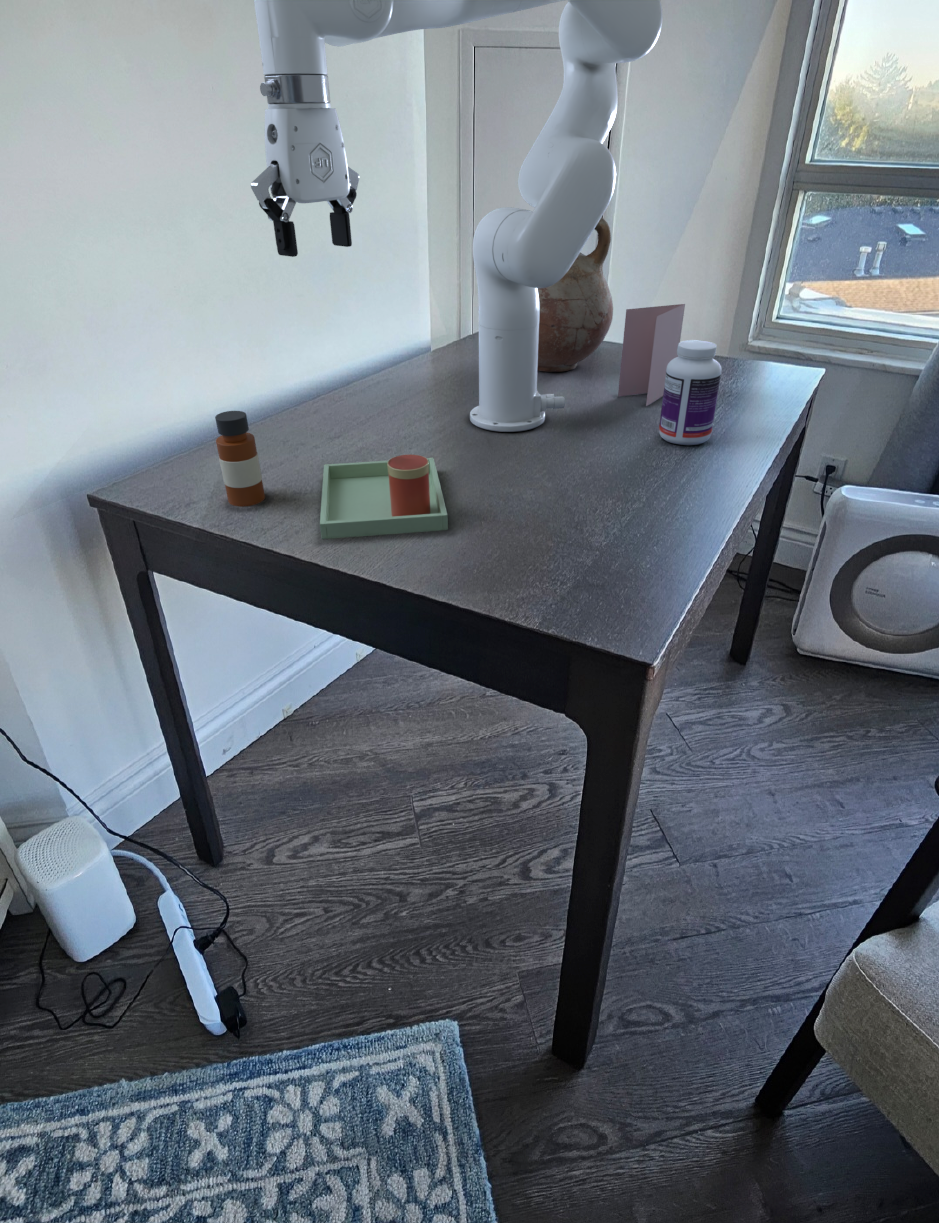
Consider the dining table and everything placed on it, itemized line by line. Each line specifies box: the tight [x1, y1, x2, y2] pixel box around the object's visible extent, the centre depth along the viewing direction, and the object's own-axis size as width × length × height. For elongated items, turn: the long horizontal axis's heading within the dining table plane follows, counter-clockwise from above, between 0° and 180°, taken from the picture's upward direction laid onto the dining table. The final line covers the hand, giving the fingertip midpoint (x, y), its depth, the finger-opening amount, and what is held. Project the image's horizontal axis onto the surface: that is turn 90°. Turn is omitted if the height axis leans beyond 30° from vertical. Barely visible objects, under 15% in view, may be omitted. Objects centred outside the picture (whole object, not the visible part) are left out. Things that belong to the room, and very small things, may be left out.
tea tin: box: [387, 453, 430, 517], centre depth 95 cm, size 5×5×7 cm
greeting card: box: [617, 303, 686, 407], centre depth 132 cm, size 11×7×15 cm, turn 108°
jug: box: [537, 216, 614, 373], centre depth 145 cm, size 22×22×30 cm
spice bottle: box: [214, 410, 266, 508], centre depth 98 cm, size 5×5×12 cm
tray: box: [319, 457, 449, 540], centre depth 99 cm, size 15×18×3 cm
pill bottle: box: [658, 339, 722, 446], centre depth 115 cm, size 8×8×14 cm
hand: (316, 250), depth 100 cm, fingers open, 9 cm apart
